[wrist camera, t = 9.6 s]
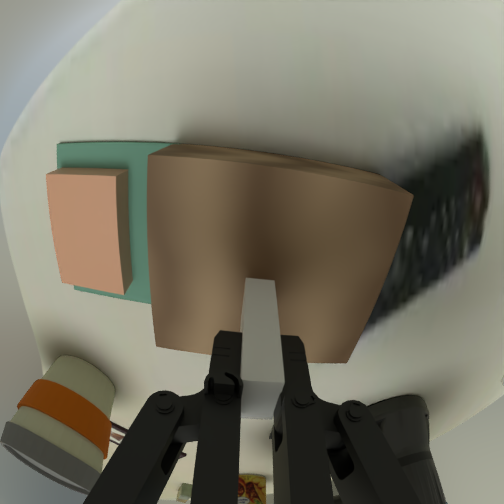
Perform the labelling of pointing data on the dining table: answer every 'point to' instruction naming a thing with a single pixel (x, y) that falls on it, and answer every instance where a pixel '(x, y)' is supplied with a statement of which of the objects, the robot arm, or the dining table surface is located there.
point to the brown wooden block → (267, 244)
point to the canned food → (251, 489)
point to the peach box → (91, 227)
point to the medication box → (184, 492)
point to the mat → (136, 163)
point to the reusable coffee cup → (64, 424)
